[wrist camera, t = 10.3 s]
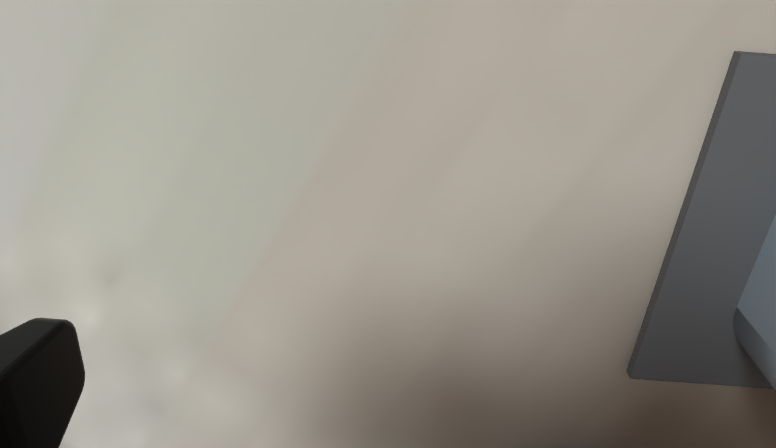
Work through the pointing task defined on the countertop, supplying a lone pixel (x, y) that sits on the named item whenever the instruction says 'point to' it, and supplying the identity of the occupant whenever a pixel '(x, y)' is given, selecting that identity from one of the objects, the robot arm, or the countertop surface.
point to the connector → (760, 310)
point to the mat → (716, 240)
